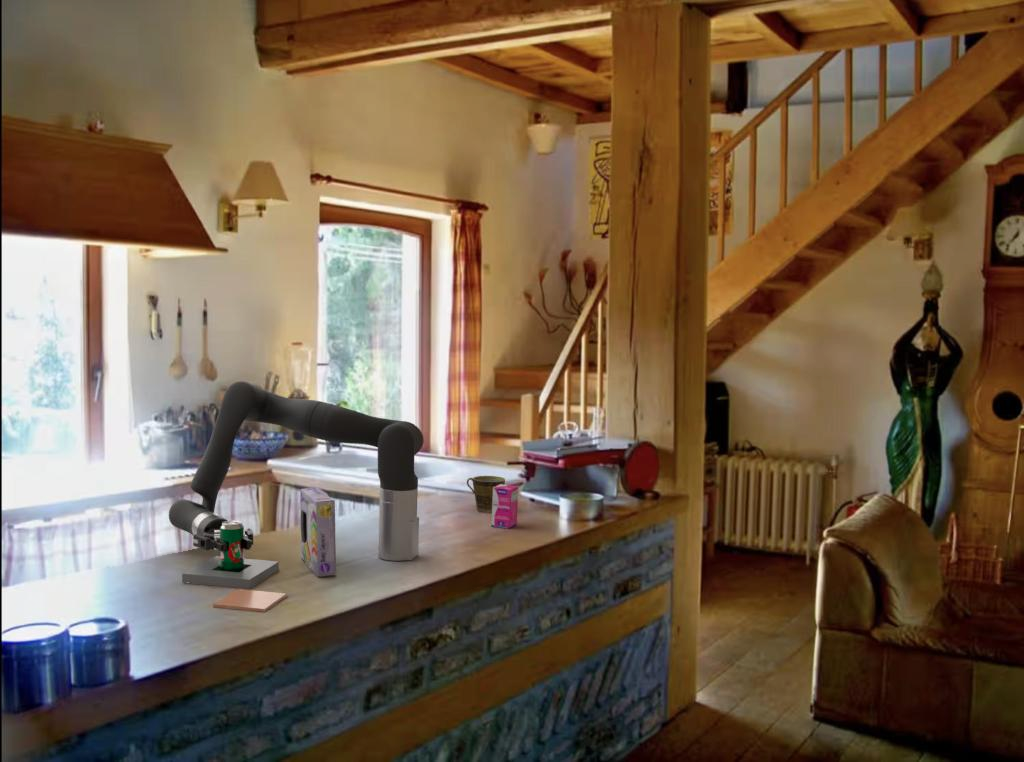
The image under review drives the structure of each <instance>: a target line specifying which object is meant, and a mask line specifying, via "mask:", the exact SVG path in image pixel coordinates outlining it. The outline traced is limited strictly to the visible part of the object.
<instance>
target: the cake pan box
mask: <svg viewBox="0 0 1024 762" xmlns="http://www.w3.org/2000/svg"><path fill="white" fill-rule="evenodd" d="M299 496H300V497H299V498H300V500H299V505H300V506H299V508H300V535H301V536H300V537H301V539H300V540H301V541H300V555H301V556H300V558H302V559H303V560H304V561H305V562H304V561H303V560H302V559H301V560H302V561H303V562H304V563H305V564H306V565H307V567H308V566H309V567H308V568H309V569H310V570H311V572H313V574H314V575H315V576H317V577H319V578H321V577H336V575H337V562H336V561H337V556H336V551H337V550H336V549H337V547H336V545H337V543H336V500H335V499H333V498H332V497H330V496H329V494H328V493H327V492H325V491H323V490H322V489H320V488H319V487H318V486H313V487H307V488H301V489H300V495H299Z"/></svg>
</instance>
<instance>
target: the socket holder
mask: <svg viewBox="0 0 1024 762" xmlns="http://www.w3.org/2000/svg"><path fill="white" fill-rule="evenodd" d="M279 570H280V562H279V560H278V561H277V560H276V561H275V560H263V559H254V558H244V570H243V571H241V572H228V571H220V555H216V556H214V557H211V558H210V559H208V560H206V561H204V562H201V563H200V564H198V565H196V566H194V567H192V568H190V569H188V570H186V571H184V572H183V573H182V574H181V582H189V583H188V584H192V583H196V584H195V585H203V586H215V587H227V588H237V589H245V590H251V589H252V588H253V587H255V586H256V585H257V584H259V583H260V582H263V581H264V580H266V579H267V578H268V576H269V577H270V576H272V575H273V574H275V573H277V572H278V571H279ZM276 571H277V572H276ZM274 572H275V573H274ZM252 586H253V587H252Z"/></svg>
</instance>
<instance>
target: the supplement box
mask: <svg viewBox="0 0 1024 762" xmlns="http://www.w3.org/2000/svg"><path fill="white" fill-rule="evenodd" d="M518 499H519V486H517V485H509V484H505V485H503V484H500V485H498V486H496V487H493V501H492V513H491V527H492V528H501V529H507V530H510V529H512V528H515V527H516V526H518V506H519V505H518V504H519V502H518V501H519V500H518Z"/></svg>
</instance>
